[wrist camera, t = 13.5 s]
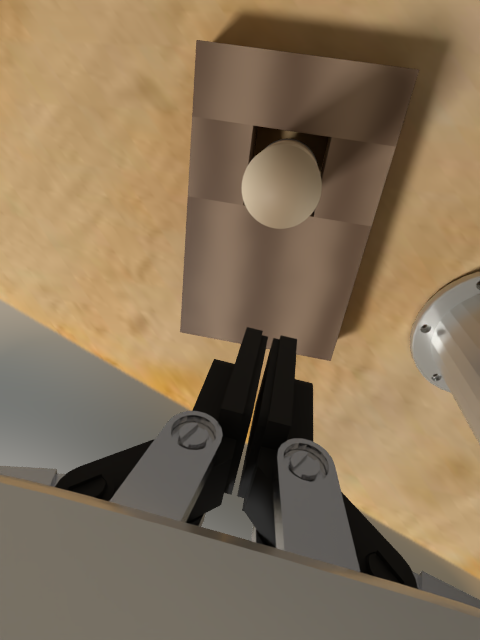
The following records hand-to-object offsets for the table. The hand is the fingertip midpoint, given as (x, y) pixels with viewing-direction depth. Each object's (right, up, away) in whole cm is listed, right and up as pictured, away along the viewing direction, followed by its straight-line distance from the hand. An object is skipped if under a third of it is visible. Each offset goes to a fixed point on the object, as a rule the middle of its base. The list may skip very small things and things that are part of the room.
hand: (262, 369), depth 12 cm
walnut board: (+2, +10, +19) cm, 22 cm away
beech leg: (+3, +14, +17) cm, 22 cm away
